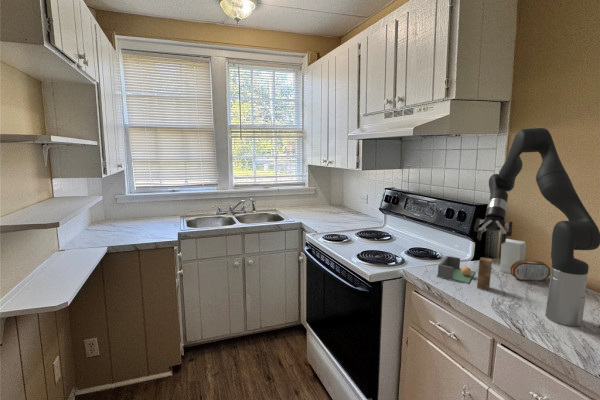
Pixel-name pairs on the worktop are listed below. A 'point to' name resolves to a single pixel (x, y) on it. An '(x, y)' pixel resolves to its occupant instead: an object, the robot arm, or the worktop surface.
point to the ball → (466, 271)
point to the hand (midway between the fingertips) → (490, 241)
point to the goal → (452, 270)
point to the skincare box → (511, 254)
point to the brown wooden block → (484, 273)
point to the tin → (530, 270)
